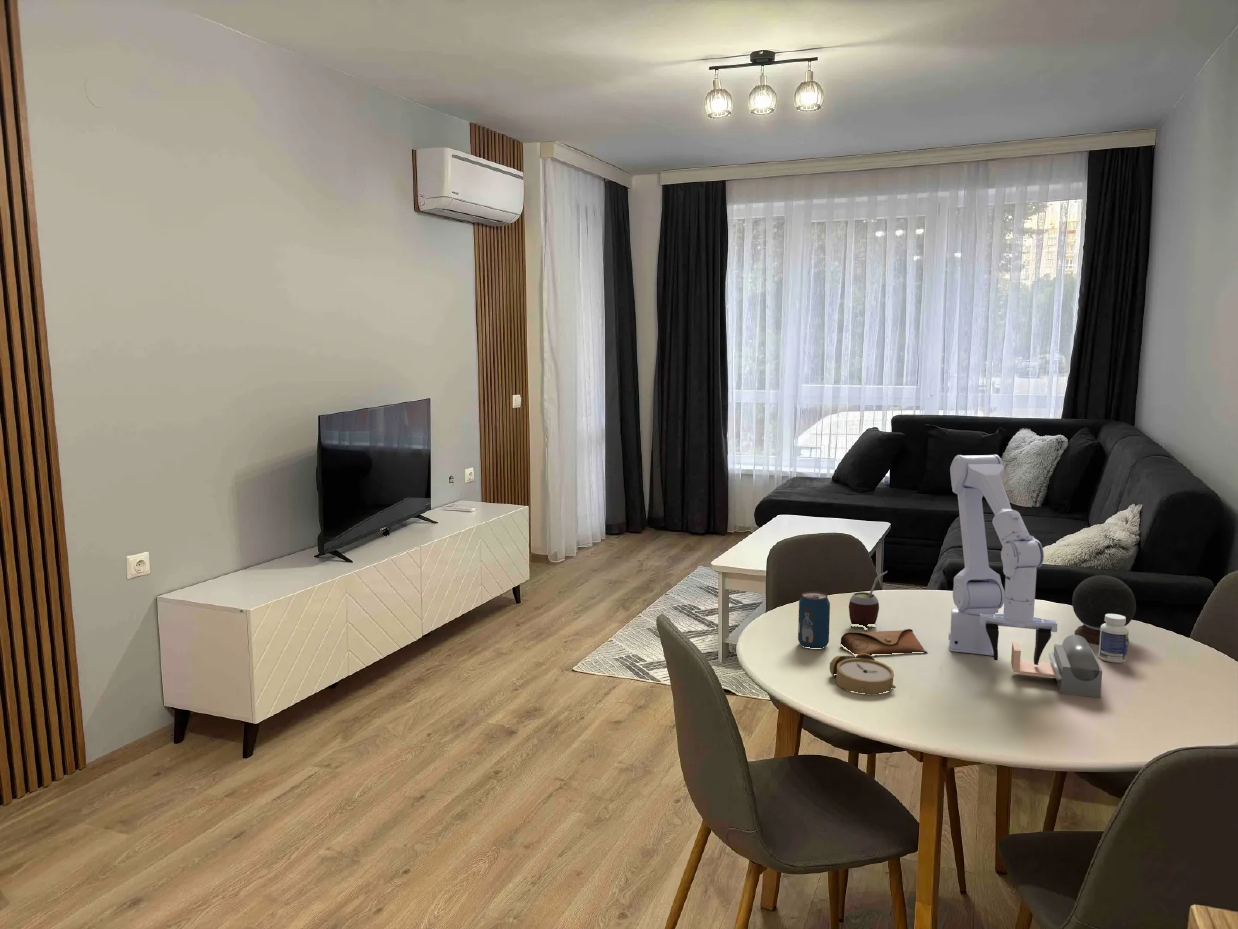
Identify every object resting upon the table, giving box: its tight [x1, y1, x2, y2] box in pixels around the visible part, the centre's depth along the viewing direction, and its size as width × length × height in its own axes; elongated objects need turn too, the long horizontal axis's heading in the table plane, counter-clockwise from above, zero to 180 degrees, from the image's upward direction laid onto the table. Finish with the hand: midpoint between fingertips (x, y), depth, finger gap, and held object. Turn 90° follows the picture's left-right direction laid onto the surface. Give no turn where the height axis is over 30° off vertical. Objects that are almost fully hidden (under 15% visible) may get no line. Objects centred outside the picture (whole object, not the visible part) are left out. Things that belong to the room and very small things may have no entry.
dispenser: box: [1048, 634, 1103, 699], centre depth 182 cm, size 8×14×8 cm, turn 160°
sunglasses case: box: [840, 628, 928, 655], centre depth 203 cm, size 18×7×7 cm
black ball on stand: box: [1071, 574, 1137, 646], centre depth 209 cm, size 13×13×15 cm
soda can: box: [797, 591, 831, 648], centre depth 205 cm, size 7×7×12 cm
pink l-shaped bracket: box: [1010, 641, 1056, 679], centre depth 184 cm, size 14×7×5 cm, turn 70°
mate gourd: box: [848, 570, 888, 628], centre depth 218 cm, size 8×8×15 cm
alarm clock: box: [829, 653, 897, 694], centre depth 184 cm, size 11×5×15 cm
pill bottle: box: [1098, 614, 1129, 664], centre depth 196 cm, size 5×5×10 cm
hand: (1015, 661), depth 186 cm, fingers open, 7 cm apart
